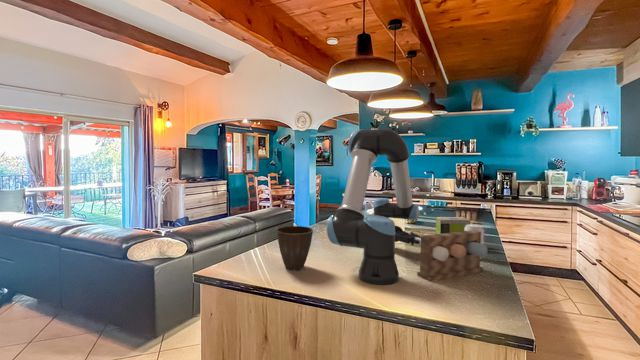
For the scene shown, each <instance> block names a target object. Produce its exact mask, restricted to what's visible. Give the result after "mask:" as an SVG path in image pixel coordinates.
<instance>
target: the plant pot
mask: <svg viewBox="0 0 640 360" xmlns="http://www.w3.org/2000/svg"><path fill="white" fill-rule="evenodd" d="M313 232H314V229H313V228H312V227H308V226H304V225H303V226H301V225H290V226H282V227H279V228H277V229H276V235H277V243H278V248H279V251H280V255H281V259H282V261H283V264H284V267H285V269H287V270H288V271H300V270H302V269H303V268H304V266H305V264H306V262H307V258H308V255H309V253H310V248H311V243H312V240H313Z"/></svg>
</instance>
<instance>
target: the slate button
mask: <svg viewBox="0 0 640 360" xmlns="http://www.w3.org/2000/svg"><path fill="white" fill-rule="evenodd" d="M467 253H469V254H473V255H476V256H479V257H483V258H484V257H486V256H487V253H488V247H487V245H486V244H485V243H484V244H480V243H476V242H473V241H467Z"/></svg>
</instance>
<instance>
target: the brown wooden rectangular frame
mask: <svg viewBox="0 0 640 360" xmlns="http://www.w3.org/2000/svg"><path fill="white" fill-rule="evenodd" d="M467 241H473V242H476V243H480V244H481V232H479V231H475V230H469V231H460V232H452V233H443V234H436V233H435V234H428V235H421V246H420V255H419V258H420V259H419V271H417V272H416V273H417V274H416V276H417V277H419V278H421V279H423V280H426V281H427V282H429V283H430V282H436V281H441V280H446V279H451V278H452V279H453V278H456V277H463V276H467V275H471V274H476V273H477V274H478V273H482V272H483V270H484V269H483V268H484V267H481V265H480V263H481V259H480V257H479V256H476V255H473V254H469V253H467ZM453 243H455V244H459V245H462V246H464V247H465V249H466V253H465V256H464V257H463V258H457V257H454V256H451V255H450V244H453ZM433 246H440V247H443V248H446V249H447V250H448V252H449V255H448V258H447V259H446V260H445V261H440V260H437V259H435V258H432V254H433Z"/></svg>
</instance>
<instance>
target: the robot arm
mask: <svg viewBox="0 0 640 360" xmlns="http://www.w3.org/2000/svg"><path fill="white" fill-rule="evenodd" d="M348 151H349V152H348V153H349V154H350V156H351V158H352V162H351V166H350V170H349V174H348V178H347V182H346V186H345V190H344V194H343V199H342V201H341V206H339V207H338V208H337V209H336V211H335V213H334V214H332V215H330V216H329V217H328V219H327V222H326V234H327V237H328V238H327V239H328V240H329V242H330V243H331V244H334V245H337V246H340V247H349V248H357V249H363V257H362V260H361V264H360V267H359V269H358V279H360V280H361V281H362V282H365V283H369V284H372V285H391V284H395V283H397V282H398V281H400V280H399V279H400V272H399V269H398V265H397V262H396V258H395V257H396V256H395V252H396V251H395V250H396V248H395V247H396V246H395V245H396V243H397V242H400V243H405V244H411V246H414V245H417V246H420V247H421V236H422V235H421V236H420V235H418V234H417V233H414V232H413V231H411V232H407V231H404V230H403V228H402V227H401V226H398V225H396V224H395V221H394V220H393V219H400V220H407V221H410V220H413V221H414V220H415V221H416V220H417V219H418V218H419V212H420V211H419V205H418V204H414V203H413V202H414V201H413V196H412V195H413V193H412V187H411V180H410V171H409V164H408V163H409V162H408V160H409V158H410V153H409V148H408V145H407V143H406V141H405V140H404V139H403V137H402V136H401V135H400V134H399V133H398V132H397V131H395V130H392V129H390V128H377V129H376V128H375V129H357V130H354V131H353V132H352V133H351V135H350V136H349V140H348ZM379 156H386V160H387V162H388V163H389V164H390V170H391V176H392V182H393V187H394V195H395V199H396V200H395V201H396V203H395V202H390V199H389V198H385V197H384V198H383V197H377V198H374V201H373V203H374V204H373V214H366V215H364V213H363V205H364V202H365V197H366V194H367V189H368V184H369V179H370V176H371V175H370V174H371V172H372V171H371V170H372V166H373V164H374V163H376V162H377V159H378V157H379Z"/></svg>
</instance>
